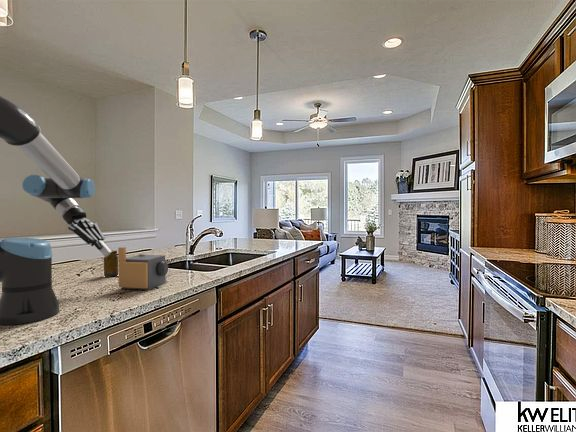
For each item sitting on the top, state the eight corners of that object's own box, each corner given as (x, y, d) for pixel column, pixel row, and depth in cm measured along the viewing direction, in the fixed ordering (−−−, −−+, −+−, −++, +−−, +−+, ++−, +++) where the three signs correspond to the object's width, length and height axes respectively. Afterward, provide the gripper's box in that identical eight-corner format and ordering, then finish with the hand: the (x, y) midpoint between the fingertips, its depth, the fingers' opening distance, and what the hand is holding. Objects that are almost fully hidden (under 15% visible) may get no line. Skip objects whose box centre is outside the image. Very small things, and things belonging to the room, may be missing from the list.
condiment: (106, 274, 155) (105, 250, 155) (125, 274, 157) (124, 249, 156) (100, 277, 148) (100, 252, 147) (120, 277, 149) (119, 251, 149)
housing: (153, 290, 125) (152, 257, 125) (121, 288, 128) (121, 257, 127) (169, 283, 137) (169, 253, 137) (140, 281, 140) (140, 252, 139)
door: (146, 288, 124) (145, 248, 124) (118, 287, 126) (118, 247, 126) (148, 287, 125) (147, 247, 125) (120, 286, 127) (120, 247, 127)
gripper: (79, 218, 136) (114, 258, 134) (51, 219, 123) (90, 263, 121) (89, 206, 135) (125, 245, 133) (63, 205, 122) (102, 249, 120)
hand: (108, 254), depth 127 cm, fingers closed
